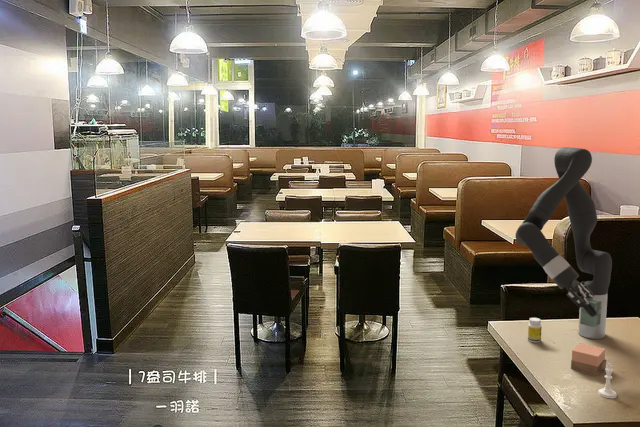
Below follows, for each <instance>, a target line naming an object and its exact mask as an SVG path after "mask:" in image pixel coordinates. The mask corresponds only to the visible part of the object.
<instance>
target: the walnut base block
mask: <svg viewBox="0 0 640 427" xmlns="http://www.w3.org/2000/svg"><path fill="white" fill-rule="evenodd" d="M606 364H607V359H606V358H605V359H604V360H603V361H602V363H601V364H600V365H599V366H598V367H596V366H592V365H588V364H584V363H580V362H576V361H572V359H571V360H570V369H572V370H575V371H578V372H581V373H583V374H588V375H590V376H594V377H596V376H598V375H599V374H600V373H601V372H604V371H605V368H607V366H606Z"/></svg>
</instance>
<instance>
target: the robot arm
mask: <svg viewBox="0 0 640 427" xmlns="http://www.w3.org/2000/svg"><path fill="white" fill-rule="evenodd" d="M553 160H554V168H555V171H556V174H557V176H558V180H557V181H556V182H555V183H553V184H552V185H551V186H549V187H548V188H546V189H545V190H543V192H542V193H541V194H540V195H539V196H538V197H537V199H536V200H535V202H534V203H533V204H532V206H531V208H530V209H529V212H528V214H527V216H526V217H525V218H524V220H523V222H521V224H520V225H519V227H518V228H517V230H516V232H515V240H516V242H517V243H518V244H519V245H521V246H523V247H527V248H528V249H529V250H530V251H531V253H532V256H533V258H534V260H535V261H536V262H537V263H538V264H539V265H540V266H541V267H542V268H543V270H544V272H545V273H546V274H547V276H548V277H549V278H550V279H551V280H552V281H553V283H555V284H556V286H557V287H558V289H560V290H563V289H564V288H565V289H566V290H567V293H566V297H567V298H569V300H571V302H572V303H573V304H575V306H576V307H578V308H579V310H578V313H579V315H578V318H579V319H578V331H577V332H578V335H580V336H581V337H584V338H586V339H593V340H600V339H604V338H605V337H606V325H607V311H608V309H607V307H608V293H609V292H608V291H609V287H610V285H611V284H610V283H611V275H612V274H611V273H612V268H613V259H612V256H611V254H610V253H608V252H607V251H601V250H596V249H593V248H592V246H591V241H590V239H591V238H590V237H591V234H592V233H593V231H594V229H595V227H596V225H597V223H598V214H597V208H596V205H595V202H594V200H593V198H592V196H591V195H590V194H589V193H588V192H587V190H586V189H585V187H583V185H582V183H581V182H580V180H582V178H583V177H584V176H585V174H586V173H587V172H588V171H589V169H590V168H591V165H592V162H593V156H592V154H591V152H590V151H589V150H588V149H586V148H580V147H569V146H568V147H561V148H559V149H558V150H557V151H555V154H554V158H553ZM563 200H565V204H566V209H567V213H568V218H569V222H570V226H571V231H572V234H573V241H574V242H573V243H574V248H575V250H574V251H575V259H576V265H577V267H578V269H579V271H581V272H582V273H586V274H589V275H593V279H592V280H587V281H581V282H580V281H578V280H577V279H578V278H579V277H580V275H579V273H578V272H577V271H576V270H575V269H574V268H573V267H572V266H571V264H569V262H568V261H567V260H566V259H565V258H564V257H563V256H562V255H560V254H559V253H558V251H557V250H556V249H555V248H554V247H553V246H552V245H551V244H550V243H549V240H548V239H547V238H546V236H545V235H544V233H543V232H542V230H543V228H544V227H545V225H546V224H547V222H549V220H550V219H551V217H552V215H553V214H554V213H555V210H557V208H558V206H559V205H560V203H561V202H562V201H563ZM586 298H592V299H597V300H601V301H602V304H601V320H600V324H599V325H597V326H596V327H591V326H587V325H583V324H580V319H581V307H582V308H584V309H585V310H586V311H587V312H588V314H589V315H590V316H591V317H593V316H595V315H596V314H597V312H596V310H595V309H594V308H593V307H592V306H591V305H590V304H589V303H588V301H587V300H586ZM588 304H589V305H588Z"/></svg>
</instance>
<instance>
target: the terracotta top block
mask: <svg viewBox="0 0 640 427" xmlns="http://www.w3.org/2000/svg"><path fill="white" fill-rule="evenodd" d="M604 359H605V360H606V348H603V347H599V346H594V345H591V344H586V343H581V342H580V343H578V345H576V346H575V347H574V348H573V349H572V350H571V360H572V361H576V362H580V363H584V364H588V365H592V366H596V367H598V366H599V365H600V364H601V363H602V361H603V360H604Z"/></svg>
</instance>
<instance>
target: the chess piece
mask: <svg viewBox="0 0 640 427" xmlns="http://www.w3.org/2000/svg"><path fill="white" fill-rule="evenodd" d="M604 371H605V373H606V374H604V378H605V385H604V387H602V388H600V389H598V391H597V393H598V395H599V396H600V397H603V398H607V399H615V398H617V392H616V391H614V390H613V389H612V387H611V379H613V376H612V373H613V371H614V370H613V365H612V364H611V362H608V364H607V363H606V368H605V370H604Z"/></svg>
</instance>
